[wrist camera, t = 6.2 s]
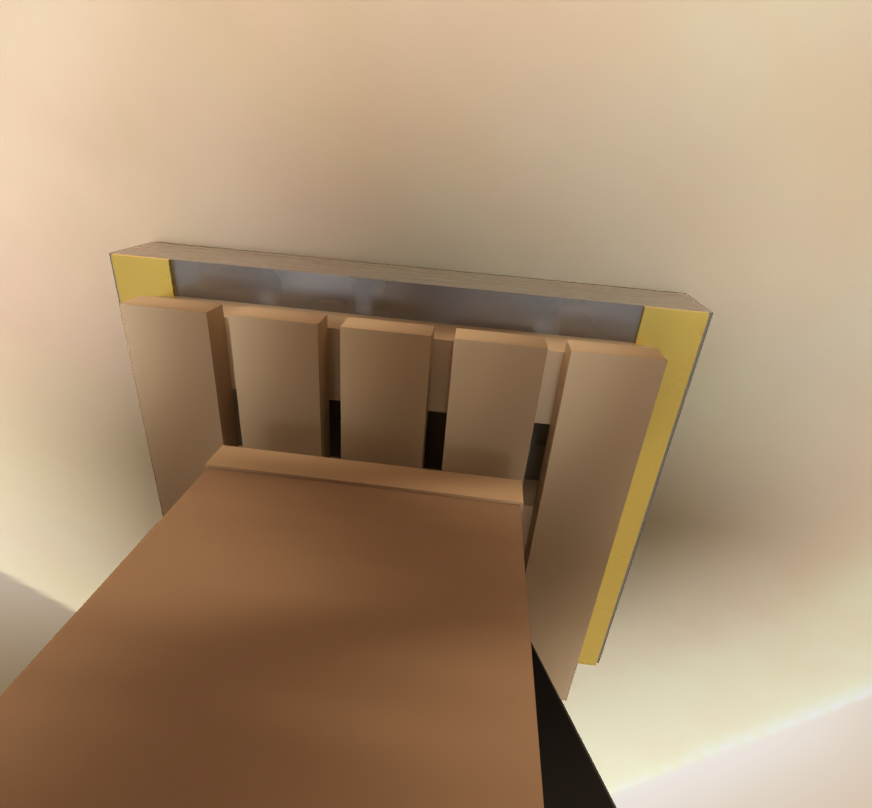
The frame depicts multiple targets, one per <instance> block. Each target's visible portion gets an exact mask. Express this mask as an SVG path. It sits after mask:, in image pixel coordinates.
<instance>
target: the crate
mask: <svg viewBox="0 0 872 808" xmlns="http://www.w3.org/2000/svg"><path fill="white" fill-rule="evenodd" d="M205 468H206V470H205V471H204V472H203V474H202V475H201V476H200V477H199V478H198V479H197V480H196V481H195V482H194V483H193V485H192V486H191V487H190V488H189V489H188V490H187V491H186V492H185V493H184V494H183V496H182V497H181V498H180V499H179V500H178V501H177V502H176V503H175V504H174V505H173V507H172V508H171V509H170V510H169V511H168V512H167V513H166V514H165V515H164V516H163V518H162V519H161V520H160V521H159V522H158V523H157V524H156V525H155V526H154V527H153V529H152V530H151V531H150V532H149V533H148V534H147V535H146V536H145V537H144V538H143V540H142V541H141V542H140V543H139V544H138V545H137V546H136V547H135V548H134V549H133V551H132V552H131V553H130V554H129V555H128V556H127V557H126V558H125V559H124V560H123V562H122V563H121V564H120V565H119V566H118V567H117V568H116V569H115V570H114V571H113V573H112V574H111V575H110V576H109V577H108V578H107V579H106V580H105V581H104V582H103V584H102V585H101V586H100V587H99V588H98V589H97V590H96V591H95V592H94V593H93V595H92V596H91V597H90V598H89V599H88V600H87V601H86V602H85V603H84V604H83V606H82V607H81V608H80V609H79V610H78V611H77V612H76V613H75V614H74V616H73V617H72V618H71V619H70V620H69V621H68V622H67V623H66V624H65V625H64V626H63V628H62V629H61V630H60V631H59V632H58V633H57V634H56V635H55V636H54V637H53V639H52V640H51V641H50V642H49V643H48V644H47V645H46V646H45V647H44V648H43V650H42V651H41V652H40V653H39V654H38V655H37V656H36V657H35V659H33V661H32V662H31V663H30V664H29V665H28V666H27V667H26V668H25V669H24V671H23V672H22V673H21V674H20V675H19V676H18V677H17V678H16V679H15V680H14V682H13V683H12V684H11V685H10V686H9V687H8V688H7V689H6V690H5V691H4V693H3V694H2V695H1V696H0V808H544V802H543V789H542V776H541V764H540V751H539V739H538V726H537V713H536V701H535V688H534V676H533V663H532V650H531V638H530V625H529V613H528V600H527V587H526V575H525V562H524V549H523V537H522V524H521V514H522V509H523V504H524V501H523V490H522V480H514V479H505V478H497V477H488V476H480V475H472V474H463V473H455V472H446V471H438V470H429V469H421V468H412V467H404V466H395V465H387V464H379V463H370V462H362V461H353V460H345V459H336V458H328V457H319V456H311V455H303V454H294V453H286V452H277V451H269V450H260V449H252V448H243V447H235V446H227V445H222V446H221V447H220V448H219V450H218V451H217V452H216V453H215V454H214V455H213V456H212V457H211V458H210V459H209V460H208V461H207V462H206V464H205Z"/></svg>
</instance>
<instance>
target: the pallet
mask: <svg viewBox="0 0 872 808" xmlns="http://www.w3.org/2000/svg"><path fill="white" fill-rule="evenodd" d="M119 305H120V310H121V315H122V320H123V324H124V329H125V334H126V339H127V344H128V349H129V353H130V358H131V363H132V368H133V373H134V378H135V383H136V387H137V392H138V397H139V402H140V407H141V412H142V417H143V421H144V426H145V431H146V436H147V441H148V446H149V451H150V455H151V460H152V465H153V470H154V475H155V480H156V484H157V489H158V494H159V499H160V504H161V509H162V514H163V516H164V515H165V514H166V513H167V512H168V511H169V510H170V509H171V508H172V507H173V505H174V504H175V503H176V502H177V501H178V500H179V499H180V498H181V497H182V496H183V494H184V493H185V492H186V491H187V490H188V489H189V488H190V487H191V486H192V485H193V483H194V482H195V481H196V480H197V479H198V478H199V477H200V476H201V475H202V474H203V472H204V471H205V470H206V468H205V464H206V462H207V461H208V460H209V459H210V458H211V457H212V456H213V455H214V454H215V453H216V452H217V451H218V450H219V448H220V447H221V446H222V445H227V446H235V447H243V448H252V449H260V450H269V451H277V452H286V453H294V454H303V455H311V456H319V457H328V458H336V459H345V460H353V461H362V462H370V463H379V464H387V465H395V466H404V467H412V468H421V469H429V470H438V471H446V472H455V473H463V474H472V475H480V476H488V477H497V478H505V479H514V480H522V490H523V501H524V504H523V509H522V514H521V524H522V537H523V549H524V562H525V575H526V587H527V600H528V613H529V625H530V638H531V642H532V644H533V646H534V648H535V650H536V652H537V654H538V656H539V658H540V659H541V661H542V663H543V665H544V667H545V669H546V671H547V673H548V675H549V677H550V679H551V681H552V683H553V685H554V687H555V689H556V691H557V693H558V695H559V697H560V698H561V700H567V696H568V693H569V690H570V686H571V683H572V680H573V676H574V673H575V670H576V666H577V663H578V660H579V656H580V653H581V649H582V646H583V643H584V639H585V636H586V633H587V629H588V626H589V623H590V619H591V616H592V613H593V609H594V606H595V603H596V599H597V596H598V593H599V589H600V586H601V583H602V579H603V576H604V572H605V569H606V566H607V562H608V559H609V556H610V552H611V549H612V546H613V542H614V539H615V536H616V532H617V529H618V526H619V522H620V519H621V516H622V512H623V509H624V506H625V502H626V499H627V496H628V492H629V489H630V485H631V482H632V479H633V475H634V472H635V469H636V465H637V462H638V459H639V455H640V452H641V449H642V445H643V442H644V439H645V435H646V432H647V429H648V425H649V422H650V419H651V415H652V412H653V408H654V405H655V402H656V398H657V395H658V392H659V388H660V385H661V382H662V378H663V375H664V372H665V368H666V365H667V362H668V361H667V359H666V358H665V357H664V356H663V355H662V354H661V352H660V351H659V350H658V349H656V348H652V347H651V346H645V345H635V343H630V342H621V341H611V340H601V339H591V338H582V337H572V336H562V335H553V334H543V333H533V332H523V331H514V330H504V329H494V328H484V327H475V326H465V325H455V324H445V323H436V322H426V321H416V320H406V319H397V318H387V317H377V316H367V315H358V314H348V313H338V312H329V311H319V310H309V309H299V308H290V307H280V306H270V305H260V304H251V303H241V302H231V301H221V300H212V299H202V298H192V297H182V296H175V297H168V296H158V297H151V296H141V295H140V296H137V297H135V298H132V299H130V300H127V301H125V302H122V303H120V304H119ZM232 389H236V390H237V399H238V409H239V418H240V427H241V436H242V445H243V446H241V445H238V437H237V428H236V419H235V410H234V402H233V393H232ZM329 400H337V401H341V457H334V456H330V422H329ZM428 411H435V412H444V413H447V420H446V431H445V441H444V452H443V462H442V469H435V468H427V467H424V458H425V445H426V432H427V419H428ZM534 423H542V424H550V427H549V432H548V437H547V442H546V447H545V452H544V457H543V462H542V467H541V472H540V477H539V481H536V480H528V479H524V476H525V471H526V465H527V460H528V454H529V449H530V443H531V438H532V433H533V427H534Z"/></svg>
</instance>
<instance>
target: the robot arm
mask: <svg viewBox="0 0 872 808" xmlns="http://www.w3.org/2000/svg"><path fill="white" fill-rule="evenodd" d="M531 650H532V663H533V676H534V688H535V701H536V713H537V726H538V739H539V751H540V764H541V776H542V789H543V802H544V808H616V806H615V804H614V802H613V800H612V798H611V796H610V794H609V792H608V790H607V788H606V786H605V784H604V782H603V780H602V778H601V776H600V775H599V773H598V771H597V769H596V767H595V765H594V763H593V761H592V759H591V757H590V755H589V753H588V751H587V749H586V747H585V745H584V743H583V741H582V739H581V737H580V736H579V734H578V732H577V730H576V728H575V726H574V724H573V722H572V720H571V718H570V716H569V714H568V712H567V710H566V708H565V706H564V704H563V702H562V700H561V698H560V697H559V695H558V693H557V691H556V689H555V687H554V685H553V683H552V681H551V679H550V677H549V675H548V673H547V671H546V669H545V667H544V665H543V663H542V661H541V659H540V658H539V656H538V654H537V652H536V650H535V648H534V646H533V644H532V642H531Z"/></svg>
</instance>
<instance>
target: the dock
mask: <svg viewBox="0 0 872 808" xmlns="http://www.w3.org/2000/svg"><path fill="white" fill-rule="evenodd" d="M109 254H110V259H111V264H112V269H113V274H114V279H115V284H116V288H117V293H118V298H119V303H122V302H125V301H127V300H130V299H132V298H135V297H137V296H140V295H141V296H151V297H158V296H168V297H175V296H182V297H192V298H202V299H212V300H221V301H231V302H241V303H251V304H260V305H270V306H280V307H290V308H299V309H309V310H319V311H329V312H338V313H348V314H358V315H367V316H377V317H387V318H397V319H406V320H416V321H426V322H436V323H445V324H455V325H465V326H475V327H484V328H494V329H504V330H514V331H523V332H533V333H543V334H553V335H562V336H572V337H582V338H591V339H601V340H611V341H621V342H630V343H635V345H645V346H651V347H652V348H656V349H658V350H659V351H660V352H661V354H662V355H663V356H664V357H665V358H666V359H667V361H668V362H667V365H666V368H665V372H664V375H663V378H662V382H661V385H660V388H659V392H658V395H657V398H656V402H655V405H654V408H653V412H652V415H651V419H650V422H649V425H648V429H647V432H646V435H645V439H644V442H643V445H642V449H641V452H640V455H639V459H638V462H637V465H636V469H635V472H634V475H633V479H632V482H631V485H630V489H629V492H628V496H627V499H626V502H625V506H624V509H623V512H622V516H621V519H620V522H619V526H618V529H617V532H616V536H615V539H614V542H613V546H612V549H611V552H610V556H609V559H608V562H607V566H606V569H605V572H604V576H603V579H602V583H601V586H600V589H599V593H598V596H597V599H596V603H595V606H594V609H593V613H592V616H591V619H590V623H589V626H588V629H587V633H586V636H585V639H584V643H583V646H582V649H581V653H580V656H579V660H578V663H581V664H588V665H596V663H599V660H600V657H601V654H602V651H603V648H604V645H605V642H606V639H607V636H608V633H609V630H610V627H611V624H612V621H613V618H614V615H615V611H616V608H617V605H618V602H619V599H620V596H621V593H622V590H623V587H624V584H625V581H626V578H627V575H628V572H629V569H630V566H631V563H632V559H633V556H634V553H635V550H636V547H637V544H638V541H639V538H640V535H641V532H642V529H643V526H644V523H645V520H646V517H647V514H648V510H649V507H650V504H651V501H652V498H653V495H654V492H655V489H656V486H657V483H658V480H659V477H660V474H661V471H662V468H663V465H664V461H665V458H666V455H667V452H668V449H669V446H670V443H671V440H672V437H673V434H674V431H675V428H676V425H677V422H678V419H679V416H680V413H681V409H682V406H683V403H684V400H685V397H686V394H687V391H688V388H689V385H690V382H691V379H692V376H693V373H694V370H695V367H696V364H697V360H698V357H699V354H700V351H701V348H702V345H703V342H704V339H705V336H706V333H707V330H708V327H709V324H710V321H711V318H712V315H713V312H711V311H710V310H709V309H707V308H706V307H704V306H703V305H702V304H700V303H699V302H697V301H696V300H694V299H693V298H692V297H690V296H689V295H687V294H686V293H675V292H665V291H655V290H644V289H634V288H624V287H613V286H603V285H593V284H582V283H572V282H562V281H551V280H541V279H531V278H520V277H510V276H500V275H489V274H479V273H469V272H459V271H448V270H438V269H428V268H417V267H407V266H397V265H386V264H376V263H366V262H355V261H345V260H335V259H324V258H314V257H304V256H293V255H283V254H273V253H263V252H252V251H242V250H232V249H221V248H211V247H201V246H190V245H180V244H170V243H159V242H151V243H147V244H143V245H139V246H135V247H131V248H127V249H123V250H119V251H116V252H112V253H109ZM232 393H233V402H234V410H235V419H236V428H237V437H238V445H241V446H243V445H242V436H241V427H240V418H239V409H238V399H237V390H236V389H232ZM446 420H447V413H444V412H435V411H428V419H427V432H426V445H425V458H424V467H427V468H435V469H442V462H443V452H444V441H445V431H446ZM329 422H330V456H334V457H341V401H337V400H329ZM549 427H550V424H542V423H534V427H533V433H532V438H531V443H530V449H529V454H528V460H527V465H526V471H525V476H524V479H528V480H536V481H539V477H540V472H541V467H542V462H543V457H544V452H545V447H546V442H547V437H548V432H549Z"/></svg>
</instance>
